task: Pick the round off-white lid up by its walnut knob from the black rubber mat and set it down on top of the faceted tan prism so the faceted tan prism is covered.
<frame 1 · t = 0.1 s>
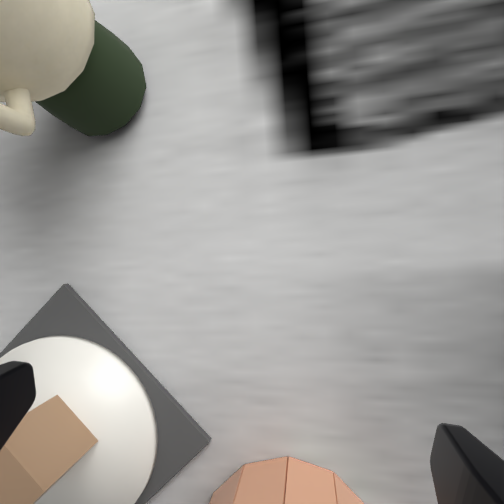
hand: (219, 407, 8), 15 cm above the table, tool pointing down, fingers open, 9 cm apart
mat: (70, 428, 26), on the table
lid: (65, 431, 25), resting on mat
character mug: (106, 93, 25), on the table
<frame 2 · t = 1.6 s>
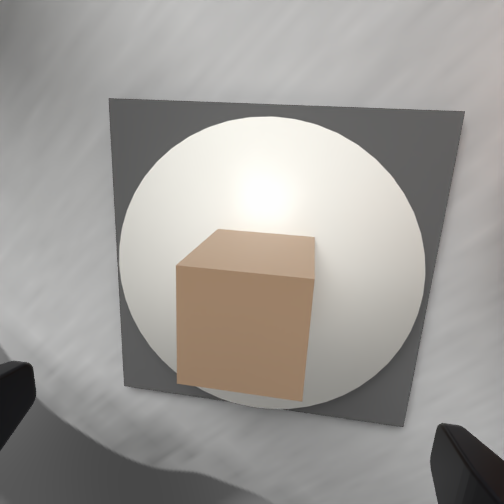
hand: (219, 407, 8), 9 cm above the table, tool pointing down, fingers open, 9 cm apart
mat: (266, 269, 17), on the table
lid: (264, 272, 17), resting on mat
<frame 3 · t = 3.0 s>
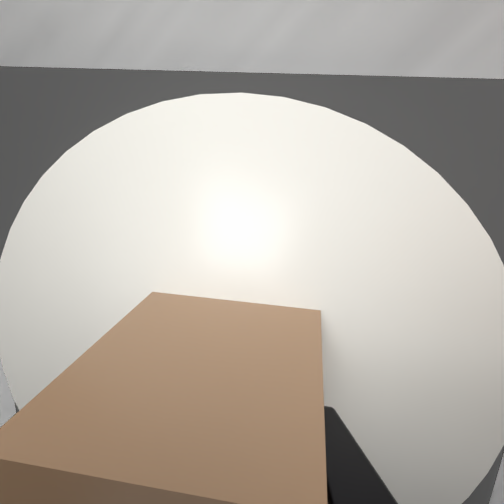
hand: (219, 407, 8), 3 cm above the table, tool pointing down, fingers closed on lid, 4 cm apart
mat: (240, 348, 11), on the table
lid: (237, 357, 10), point 1 cm above the table, touching gripper, mat
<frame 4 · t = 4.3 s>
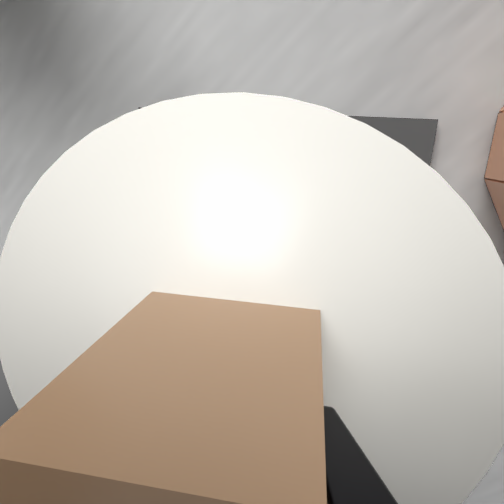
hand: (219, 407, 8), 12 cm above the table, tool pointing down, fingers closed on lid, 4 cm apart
mat: (271, 253, 20), on the table
lid: (237, 357, 10), point 10 cm above the table, touching gripper
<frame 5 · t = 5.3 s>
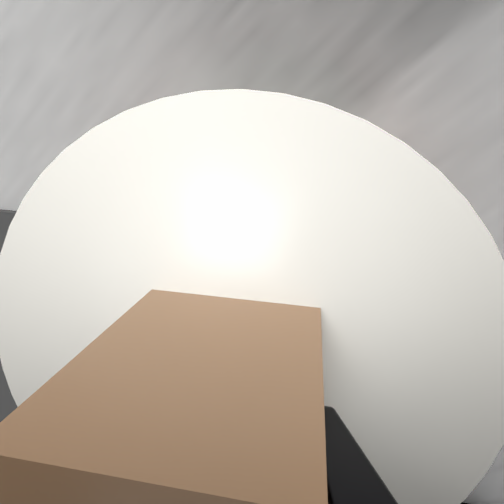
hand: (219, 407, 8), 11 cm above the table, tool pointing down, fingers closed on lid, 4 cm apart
mat: (17, 327, 22), on the table
lid: (237, 355, 10), point 9 cm above the table, touching gripper
when the fingers open (8 cm above the table, at t = 6.1 s): lid drops 1 cm, resting on faceted tan prism.
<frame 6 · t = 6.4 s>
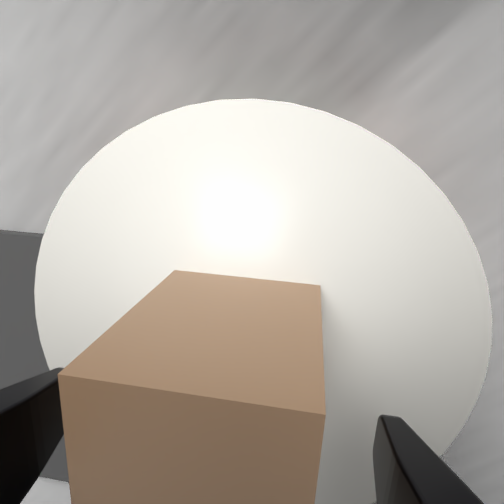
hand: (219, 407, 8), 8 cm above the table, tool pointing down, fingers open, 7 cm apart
lid: (247, 330, 11), point 5 cm above the table, touching faceted tan prism
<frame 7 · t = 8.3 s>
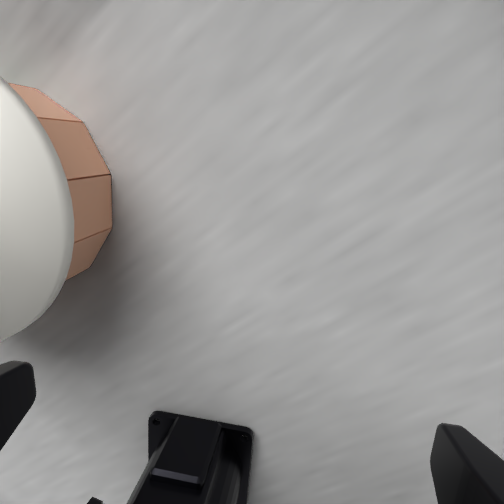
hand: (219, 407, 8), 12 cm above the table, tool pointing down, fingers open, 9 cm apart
faceted tan prism: (21, 191, 21), on the table
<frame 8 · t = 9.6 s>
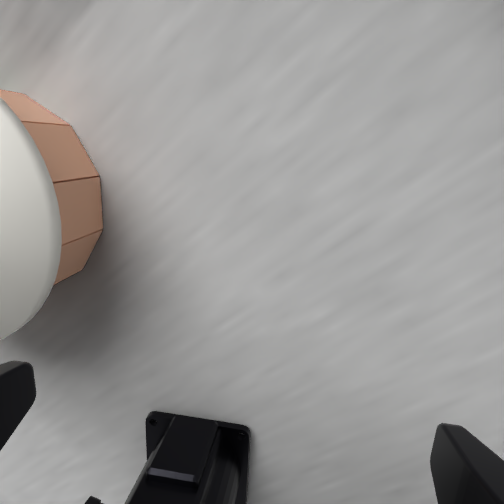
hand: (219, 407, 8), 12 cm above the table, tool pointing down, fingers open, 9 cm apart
faceted tan prism: (12, 196, 21), on the table
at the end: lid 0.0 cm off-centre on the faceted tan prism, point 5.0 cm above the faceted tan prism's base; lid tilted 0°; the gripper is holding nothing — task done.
